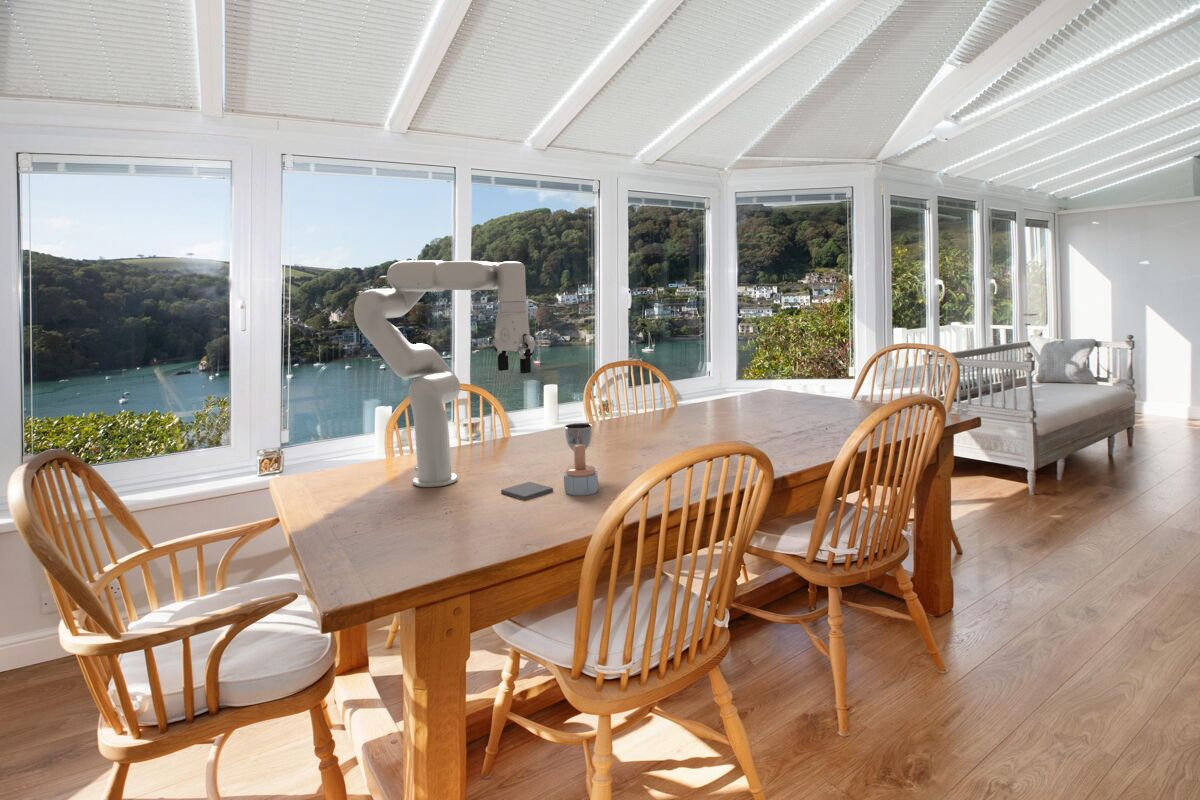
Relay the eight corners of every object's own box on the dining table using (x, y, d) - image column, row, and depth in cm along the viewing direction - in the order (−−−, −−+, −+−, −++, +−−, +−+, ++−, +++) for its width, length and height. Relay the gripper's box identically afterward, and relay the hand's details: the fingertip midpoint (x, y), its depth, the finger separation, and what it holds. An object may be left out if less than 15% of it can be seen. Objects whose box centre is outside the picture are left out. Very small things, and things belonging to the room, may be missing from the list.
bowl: (558, 491, 185) (557, 474, 185) (581, 484, 192) (581, 467, 191) (581, 498, 179) (580, 479, 178) (604, 490, 185) (604, 472, 185)
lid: (559, 474, 185) (558, 446, 184) (580, 467, 190) (579, 441, 189) (580, 478, 179) (578, 450, 178) (601, 472, 185) (600, 444, 184)
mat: (501, 493, 186) (501, 489, 186) (529, 485, 193) (529, 481, 193) (524, 500, 179) (524, 496, 179) (553, 491, 186) (552, 487, 186)
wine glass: (590, 479, 197) (588, 428, 195) (563, 478, 198) (561, 428, 196) (596, 472, 205) (594, 423, 202) (570, 471, 206) (568, 423, 204)
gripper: (481, 308, 187) (484, 370, 190) (521, 309, 175) (523, 375, 178) (503, 307, 192) (505, 368, 195) (543, 308, 180) (545, 372, 183)
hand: (514, 371), depth 187 cm, fingers open, 9 cm apart
